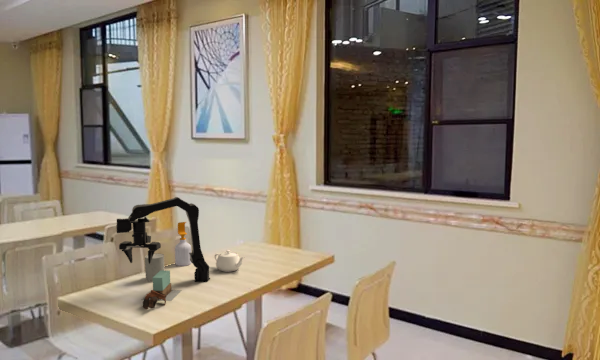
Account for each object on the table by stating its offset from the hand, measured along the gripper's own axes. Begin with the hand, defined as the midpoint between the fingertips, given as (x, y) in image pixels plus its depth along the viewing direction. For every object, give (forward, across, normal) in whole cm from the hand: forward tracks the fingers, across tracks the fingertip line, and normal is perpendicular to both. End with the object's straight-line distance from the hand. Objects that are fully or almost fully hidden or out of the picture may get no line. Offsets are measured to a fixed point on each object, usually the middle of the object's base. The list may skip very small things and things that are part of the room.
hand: (140, 263), depth 233 cm
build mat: (+12, -14, +9) cm, 21 cm away
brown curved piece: (+13, -16, +23) cm, 31 cm away
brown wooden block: (+12, -14, +12) cm, 22 cm away
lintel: (+8, -14, +9) cm, 18 cm away
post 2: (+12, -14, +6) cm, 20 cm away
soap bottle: (+13, -6, -42) cm, 44 cm away
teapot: (+13, -35, -34) cm, 50 cm away
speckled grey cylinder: (+13, -1, -14) cm, 19 cm away
